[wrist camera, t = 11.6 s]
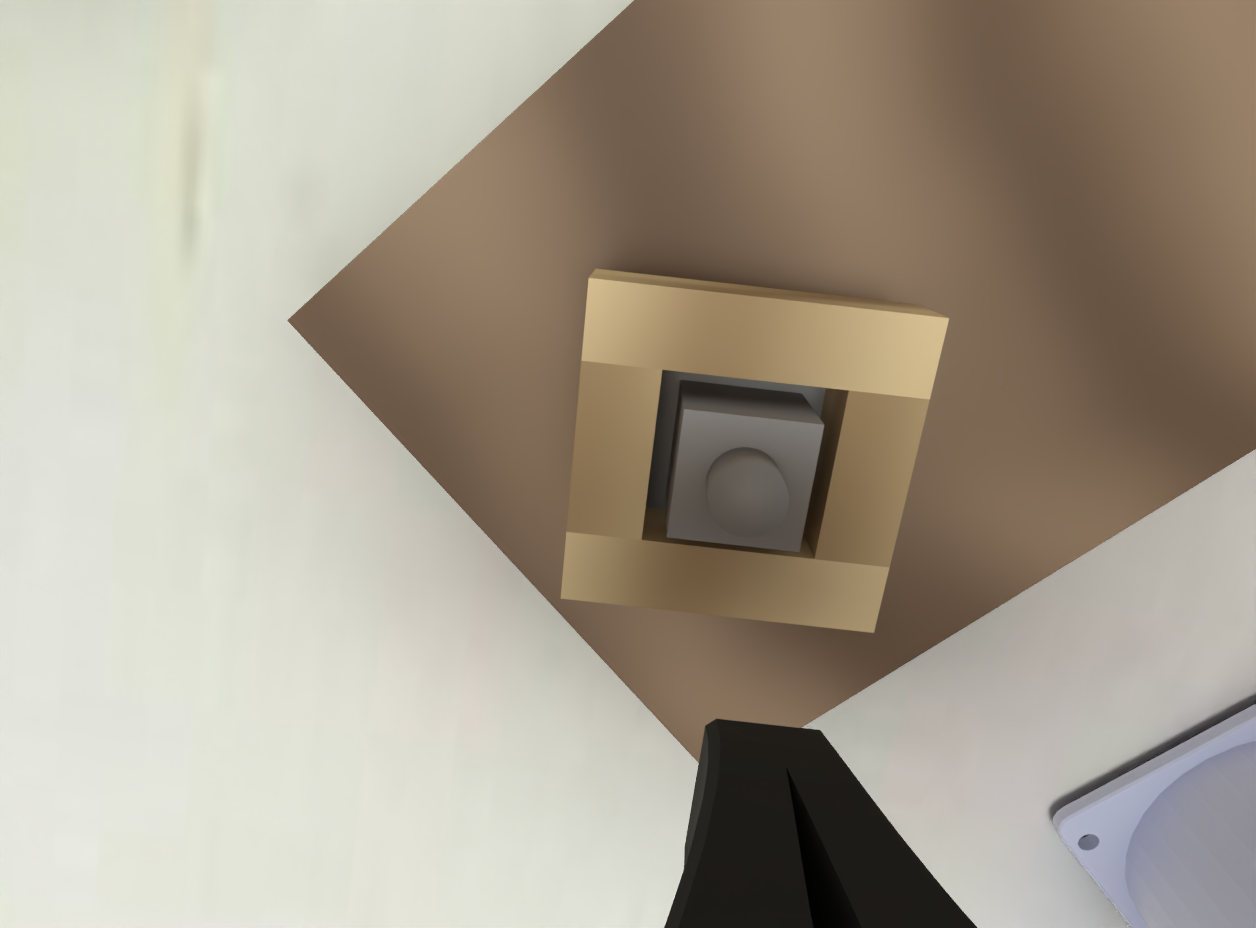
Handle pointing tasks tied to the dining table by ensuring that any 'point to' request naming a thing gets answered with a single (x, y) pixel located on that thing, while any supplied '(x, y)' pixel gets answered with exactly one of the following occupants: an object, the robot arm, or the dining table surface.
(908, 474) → the square wooden ring
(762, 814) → the robot arm
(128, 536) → the dining table surface
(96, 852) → the dining table surface
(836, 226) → the board
